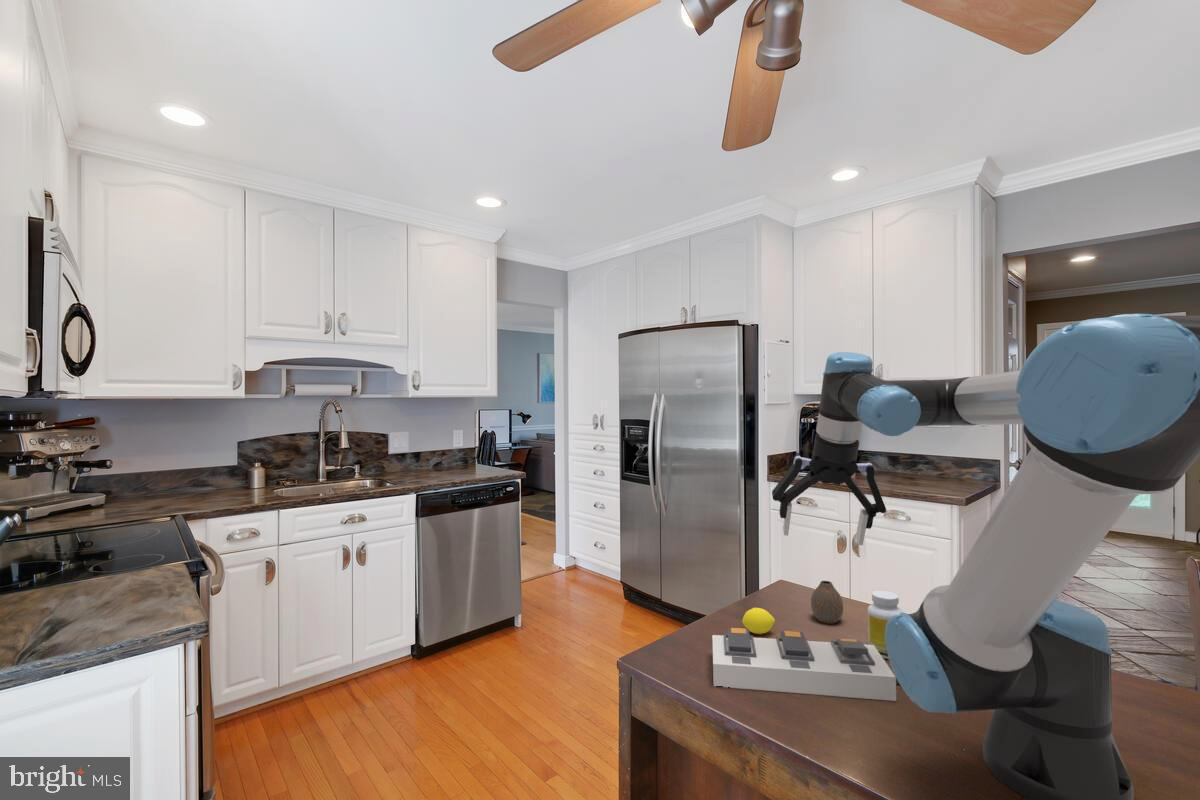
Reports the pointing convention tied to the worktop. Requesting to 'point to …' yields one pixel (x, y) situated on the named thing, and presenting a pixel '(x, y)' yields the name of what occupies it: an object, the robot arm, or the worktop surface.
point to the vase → (827, 603)
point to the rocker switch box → (803, 669)
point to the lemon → (758, 620)
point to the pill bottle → (881, 618)
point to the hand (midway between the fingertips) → (821, 536)
